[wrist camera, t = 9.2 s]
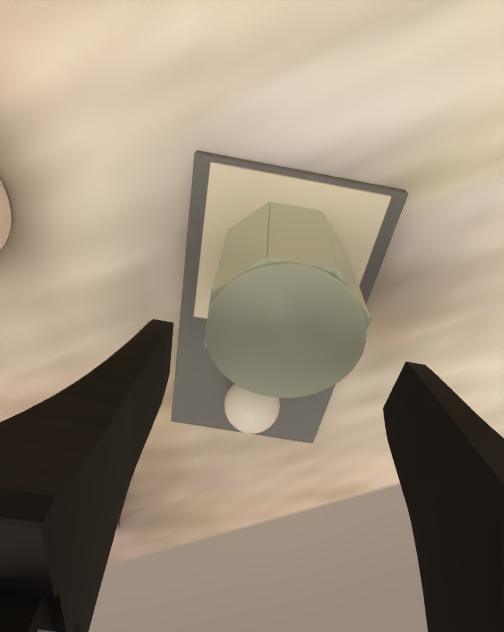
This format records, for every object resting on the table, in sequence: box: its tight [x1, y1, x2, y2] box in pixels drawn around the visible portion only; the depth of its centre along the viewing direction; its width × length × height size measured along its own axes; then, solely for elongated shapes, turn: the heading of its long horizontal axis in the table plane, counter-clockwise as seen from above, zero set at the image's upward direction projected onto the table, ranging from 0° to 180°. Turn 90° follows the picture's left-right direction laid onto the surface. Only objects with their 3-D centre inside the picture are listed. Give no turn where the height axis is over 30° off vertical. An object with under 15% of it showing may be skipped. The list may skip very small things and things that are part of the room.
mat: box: [171, 151, 408, 443], centre depth 21 cm, size 16×9×1 cm, turn 170°
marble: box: [224, 383, 280, 434], centre depth 22 cm, size 3×3×3 cm
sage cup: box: [204, 202, 371, 398], centre depth 16 cm, size 5×5×6 cm
